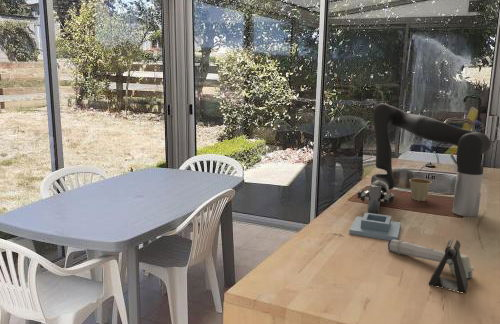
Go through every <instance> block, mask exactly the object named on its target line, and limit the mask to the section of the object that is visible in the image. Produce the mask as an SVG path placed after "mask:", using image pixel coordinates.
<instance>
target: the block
mask: <svg viewBox="0 0 500 324" xmlns="http://www.w3.org/2000/svg"><path fill="white" fill-rule="evenodd" d="M351 224H352V225H351V226H350V228H349V230H348V232H349V235H356V236H361V237H367V238H368V237H369V238H373V239H380V240H386V241H389V240H391V239H394V240H398V238H399V234H400V230H401V227H402V226H401V225H402V222H400V221H399V222H398V221H393V220H392V216H391V215H386V214H385V215H384V214H380V213H379V214H373V213H368V212H364V214H363V216H360V215H359V216H358V215H356V217H355V218H354V221H353V223H351Z"/></svg>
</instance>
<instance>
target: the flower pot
mask: <svg viewBox="0 0 500 324" xmlns="http://www.w3.org/2000/svg"><path fill="white" fill-rule="evenodd" d="M409 183H410V191H411V192H410V194H411V199H412V200H413V199H414V200H413V201H416V200H417V202H420V201H422V202H426V201H427V198H428V195H429V191H430V187H431V184H432V183H433V182H432V181H431V180H429V179H425V178H410V179H409Z"/></svg>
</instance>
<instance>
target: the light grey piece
mask: <svg viewBox="0 0 500 324" xmlns="http://www.w3.org/2000/svg"><path fill="white" fill-rule="evenodd" d="M387 250H388V251H389V252H392V253H395V254H398V255H400V256H401V255H404V256H405V255H406V256H409V257H413V258H418V259H422V260H423V259H425V260H428V261H433V262H438V263H440V261H441V260H442V258H443V256H444V255H445V251H442V250H438V249H434V248H430V247H427V246H423V245H420V244H415V243H412V242H407V241H404V240H403V239H400V240H394V239H391V240H388V243H387ZM460 256H461V259H462V263H463V267H464V270H465V274H466V278H467V279H471V278H472V277H473V271H474V269H475V268H474V266H473V265H471V261H470V258H469V256H468V255H467V254H465V253H460ZM446 264H447V265H448V267H449V269H450V270H449V271H450V272H451V273H450V275H452V274H453V276H455V270H454V264H453V260H451V259H448V260H447V262H446ZM446 264H445V265H446Z"/></svg>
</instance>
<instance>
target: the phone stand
mask: <svg viewBox="0 0 500 324" xmlns="http://www.w3.org/2000/svg"><path fill="white" fill-rule="evenodd" d="M453 242H454V239H453V238H452V239H449V240H448V242H447V245H446V247H445V249H444V252H445V255H444V256H443V258H442V260H441V261H440V262H438V264H437V267H436V269H435V270H434V271H433V273H432V275H431V276H430V277H431V278H430V279H429V282H428V286H431V285H433V286H432V287H435V286H439V287H443V288H447V289H451V290H455V291H459V292H463V293H465V294H466V293H467V290H468V285H469V282H468V278H466V274H465V270H464V267H463V263H462V259H461V256H460V254H461V251H460V249H461V242H460V241H459V240H457V239H456V241H455V243H454V246H453V248H452V244H453ZM448 259H451V260H453V264H454V270H455V275H454V277H455V276H456V277H455V280H454V279H450V278H446V277H443V276H441V275H442V273H443V270H444V268H445V266H446V262H447V260H448ZM439 287H438V288H439ZM443 288H442V289H443ZM447 289H446V290H447Z"/></svg>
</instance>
